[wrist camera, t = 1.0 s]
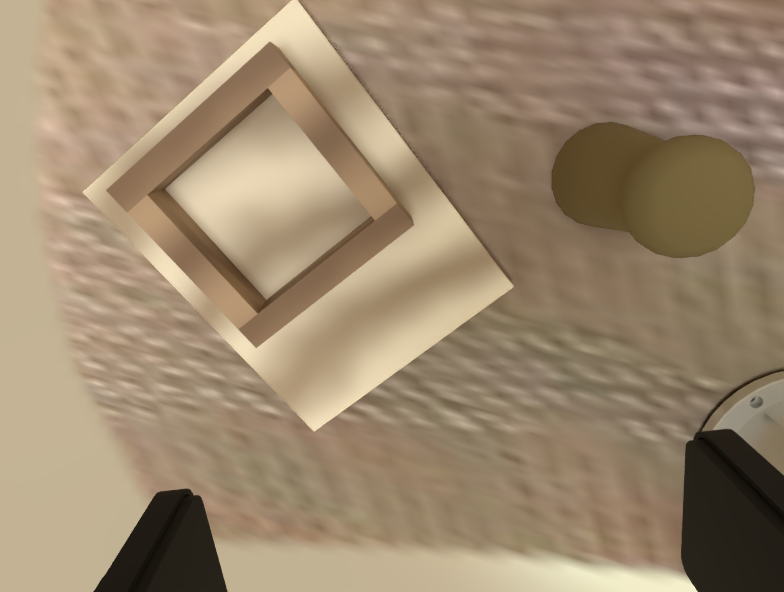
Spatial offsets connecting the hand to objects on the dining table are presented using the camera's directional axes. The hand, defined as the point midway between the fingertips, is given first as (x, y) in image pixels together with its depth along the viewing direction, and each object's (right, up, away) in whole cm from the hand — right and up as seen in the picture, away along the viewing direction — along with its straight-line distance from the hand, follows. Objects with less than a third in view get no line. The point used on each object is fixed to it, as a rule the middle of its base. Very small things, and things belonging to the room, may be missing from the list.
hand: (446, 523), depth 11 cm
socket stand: (-6, +8, +23) cm, 25 cm away
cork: (+11, +12, +22) cm, 28 cm away
